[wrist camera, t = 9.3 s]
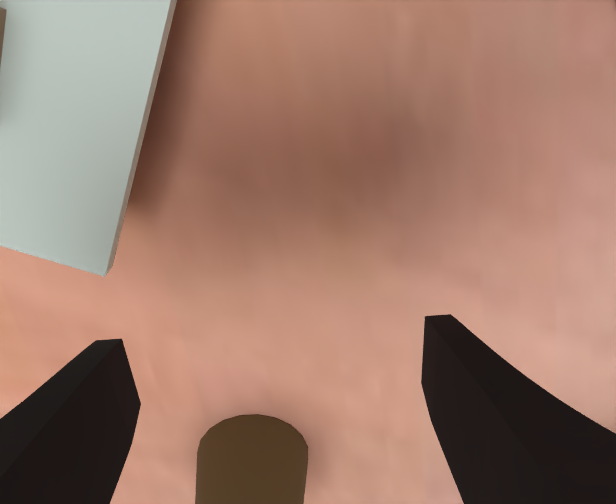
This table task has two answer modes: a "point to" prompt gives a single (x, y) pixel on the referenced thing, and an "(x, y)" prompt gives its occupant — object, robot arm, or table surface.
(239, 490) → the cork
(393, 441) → the table surface
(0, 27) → the lid
